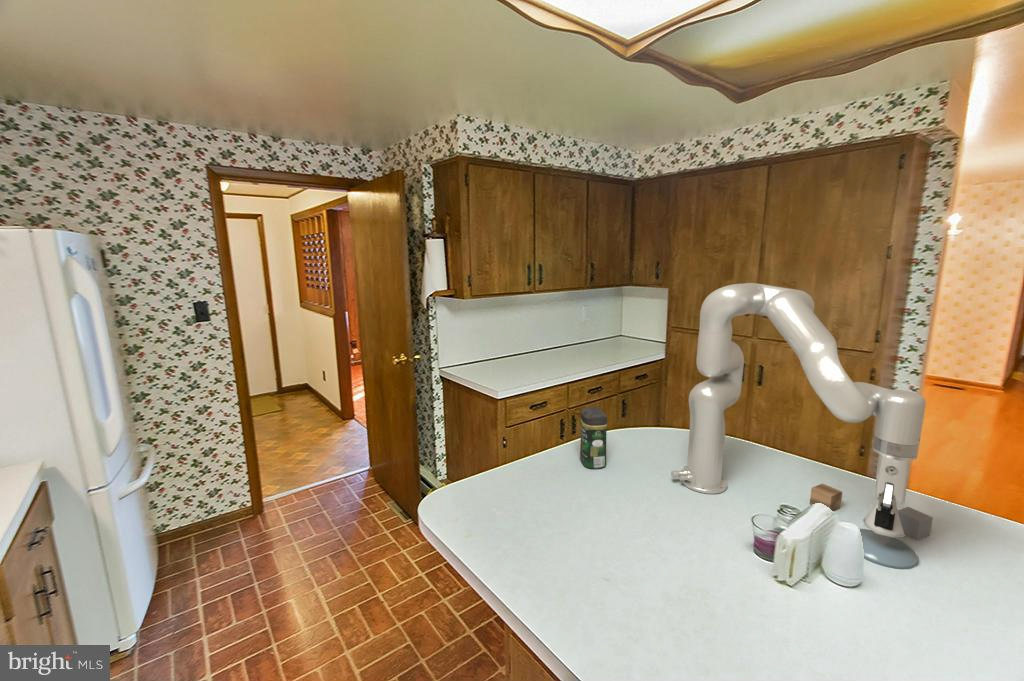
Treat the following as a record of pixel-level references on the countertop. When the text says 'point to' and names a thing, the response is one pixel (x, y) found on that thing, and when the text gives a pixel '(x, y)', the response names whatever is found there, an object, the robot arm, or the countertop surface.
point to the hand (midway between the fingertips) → (884, 521)
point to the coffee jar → (593, 438)
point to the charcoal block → (915, 523)
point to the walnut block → (826, 496)
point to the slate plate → (887, 551)
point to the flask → (893, 533)
